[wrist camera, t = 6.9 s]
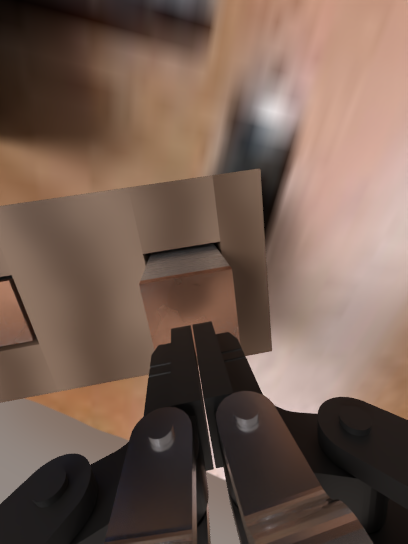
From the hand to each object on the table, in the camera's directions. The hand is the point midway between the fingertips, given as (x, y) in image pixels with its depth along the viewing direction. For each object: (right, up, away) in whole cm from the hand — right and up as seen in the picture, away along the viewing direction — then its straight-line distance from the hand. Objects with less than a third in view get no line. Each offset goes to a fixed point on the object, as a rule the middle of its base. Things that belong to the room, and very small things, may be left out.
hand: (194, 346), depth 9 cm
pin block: (-7, +3, +13) cm, 16 cm away
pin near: (-1, +3, +9) cm, 9 cm away
